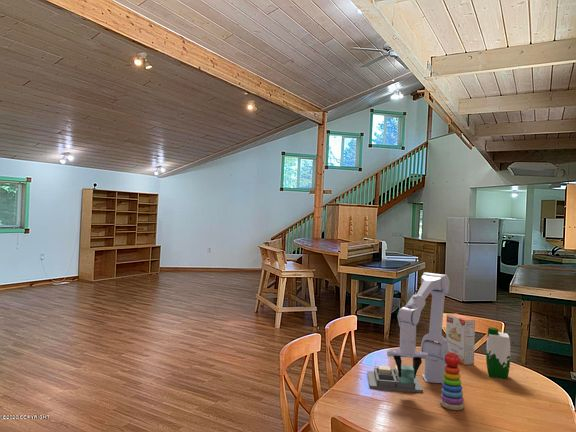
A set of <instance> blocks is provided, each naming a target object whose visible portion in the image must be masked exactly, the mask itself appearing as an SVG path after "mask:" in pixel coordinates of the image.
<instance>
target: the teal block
mask: <svg viewBox="0 0 576 432" xmlns="http://www.w3.org/2000/svg"><path fill="white" fill-rule="evenodd" d="M400 381H401V383H409V384H414V369H413V365H404V364H401V377H400Z"/></svg>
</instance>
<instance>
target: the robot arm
mask: <svg viewBox="0 0 576 432" xmlns="http://www.w3.org/2000/svg"><path fill="white" fill-rule="evenodd" d="M420 283H421V285H420V287H419V289H418V291H417V292H416V293H415V294H413V295H412V296H411V297H410V298H409V299H408V301H407V303H406V304H405V306H403V307H401V308H399V310H398V312H397V316H396V317H397V321H398V327H399V330H400V331H399V349H387V353H386V356H387V357H388V358H389V357H393V359H394V361H395V364H396V365H395V366H397V369H398V376H399V377H401V365H402V363H403V362H402V358H409V359H410V358H411V359H412V366H413V369H414V378H415V377H417V373H418V370H419V368H420V366H421V364H422V361H423V360H424V373H422V374H421V376H422V379H424V382H425V383H436V384H443V378H444V372H445V369H444V368H445V366H446V365H447V364H446V363H445V355H446V354H447V353H448V341H447V340H446V337H444V336H443V334H442V332H443V322H444V321H443V320H444V319H443V318H444V308H445V298H446V297H445V296H447V295H449V291H450V283H451V281H450V278H449V276H448V274H444V273H443V274H442V273H441V274H440V273H434V272H427V271H426V272H423V274H422V275H421V277H420ZM430 294H431V305H430V306H431V307H430V315H429V316H430V317H429V318H430V319H429V326H428V327H429V329H428V333H426V334H425V335H424V336H423V337H422V340H421V344H420V351H417V350H416V346H417V345H416V344H417V343H416V341H417V325H418V324H419V322H420V319H421V318H420V317H421V312H422V310H423V309H424V308H425V305H426V299H427V298H428V297H429V295H430ZM422 359H423V360H422Z"/></svg>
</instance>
